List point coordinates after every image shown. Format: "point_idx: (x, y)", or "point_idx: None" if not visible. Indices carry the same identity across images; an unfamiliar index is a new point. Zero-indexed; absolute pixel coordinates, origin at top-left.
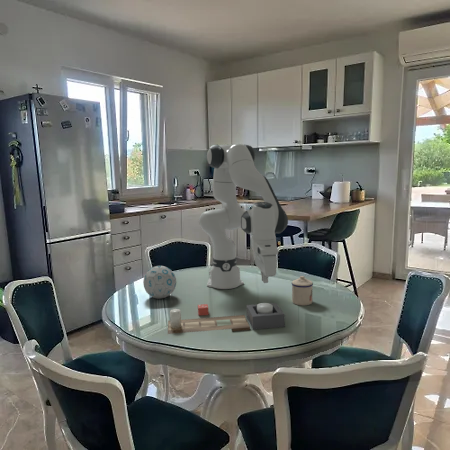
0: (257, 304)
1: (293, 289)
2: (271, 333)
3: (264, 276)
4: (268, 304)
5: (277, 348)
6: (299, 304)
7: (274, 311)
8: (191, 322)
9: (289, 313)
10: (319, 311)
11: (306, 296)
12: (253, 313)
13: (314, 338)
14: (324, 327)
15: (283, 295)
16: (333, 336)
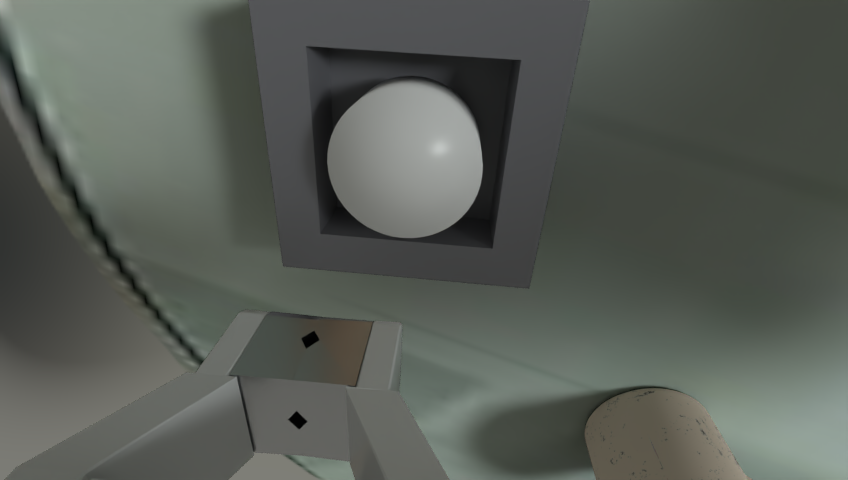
0: (555, 128)
1: (692, 474)
2: (224, 111)
3: (106, 437)
4: (426, 211)
5: (12, 79)
6: (605, 404)
7: None
8: None
9: (509, 314)
10: (481, 439)
11: (599, 477)
12: (326, 15)
13: (165, 303)
14: None
15: (826, 388)
16: None
